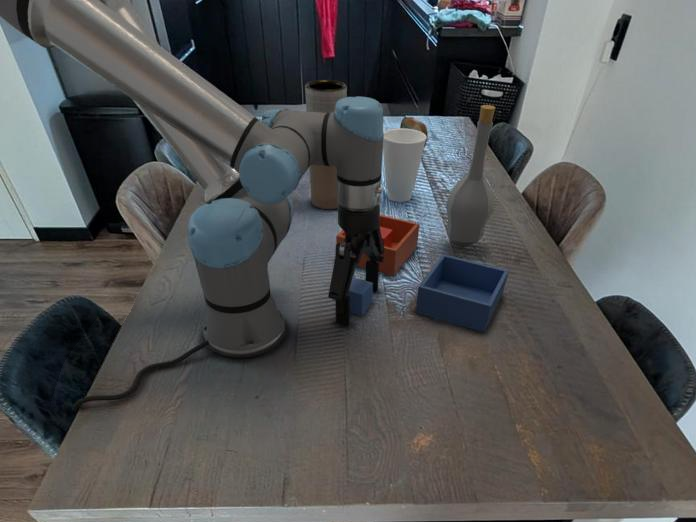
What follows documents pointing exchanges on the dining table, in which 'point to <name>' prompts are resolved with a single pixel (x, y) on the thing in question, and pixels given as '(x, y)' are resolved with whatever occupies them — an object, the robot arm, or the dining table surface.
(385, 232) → the red block
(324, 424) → the dining table surface
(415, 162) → the cup
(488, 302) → the blue bin
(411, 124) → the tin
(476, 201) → the bottle
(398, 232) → the red bin
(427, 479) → the dining table surface
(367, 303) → the blue block
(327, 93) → the vase
